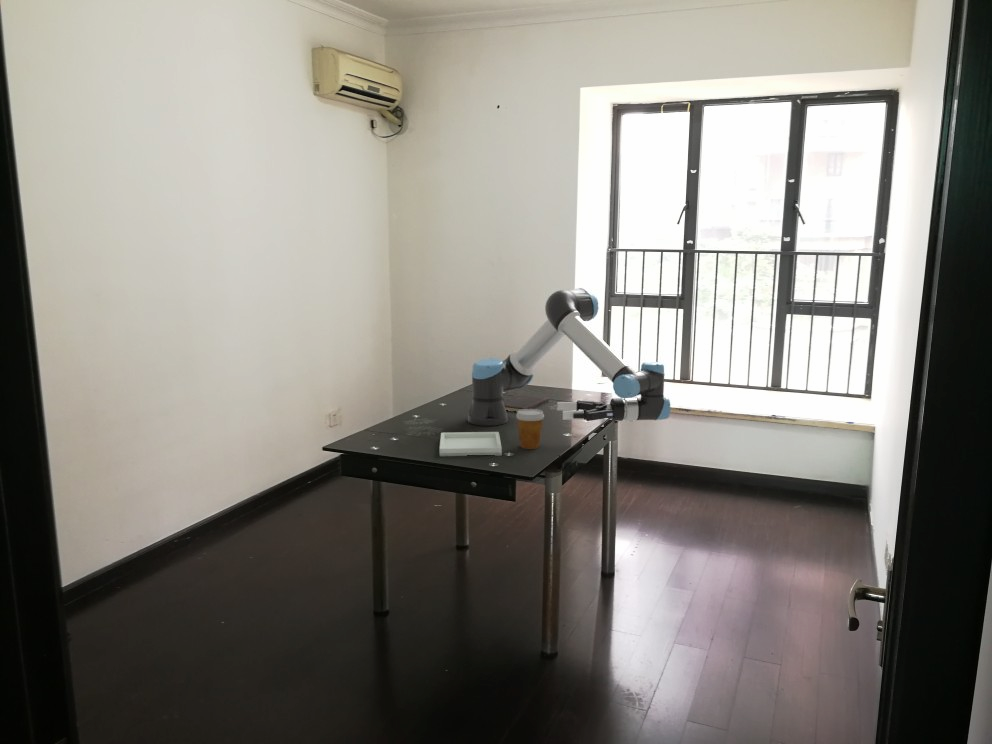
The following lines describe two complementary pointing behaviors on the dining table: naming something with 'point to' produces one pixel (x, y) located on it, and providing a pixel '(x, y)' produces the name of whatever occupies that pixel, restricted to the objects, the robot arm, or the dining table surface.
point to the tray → (470, 443)
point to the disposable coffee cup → (530, 427)
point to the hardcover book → (523, 402)
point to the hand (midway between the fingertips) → (559, 410)
